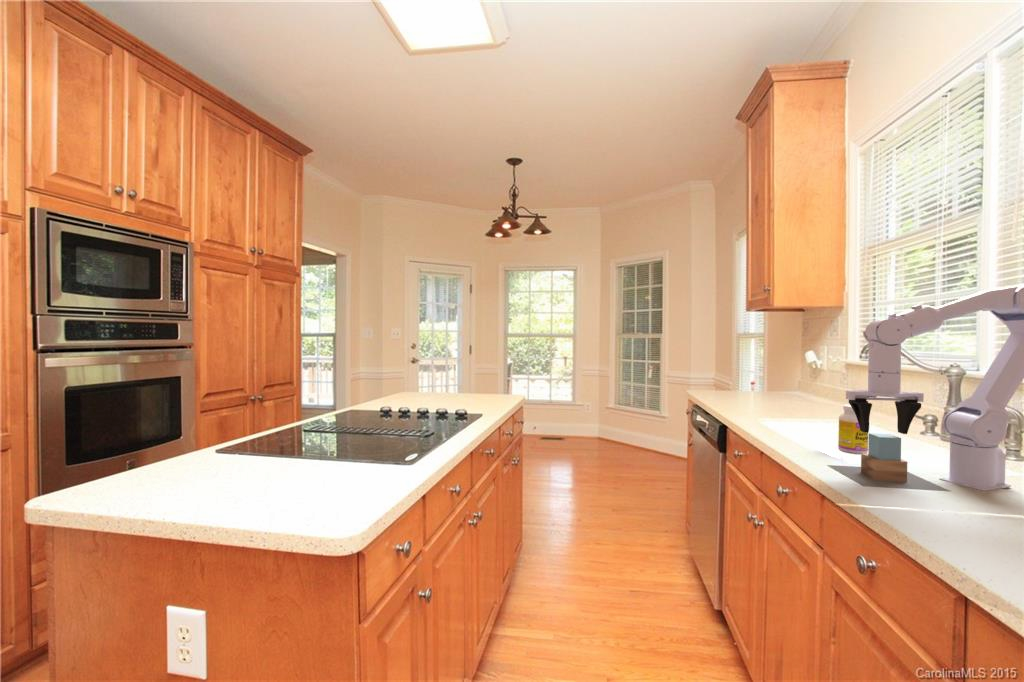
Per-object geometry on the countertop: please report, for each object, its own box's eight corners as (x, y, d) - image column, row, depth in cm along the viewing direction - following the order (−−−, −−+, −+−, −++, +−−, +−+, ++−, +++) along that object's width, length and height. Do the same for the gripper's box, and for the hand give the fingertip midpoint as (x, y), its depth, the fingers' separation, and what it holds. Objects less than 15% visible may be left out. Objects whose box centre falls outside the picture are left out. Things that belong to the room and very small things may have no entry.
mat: (826, 466, 114) (826, 465, 114) (901, 470, 111) (901, 468, 111) (863, 487, 98) (863, 485, 98) (950, 492, 95) (950, 491, 95)
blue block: (868, 454, 107) (868, 433, 106) (889, 455, 106) (889, 434, 106) (879, 459, 102) (879, 437, 102) (900, 460, 102) (901, 438, 102)
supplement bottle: (855, 456, 124) (856, 408, 124) (832, 450, 131) (833, 404, 130) (874, 454, 126) (875, 407, 126) (850, 448, 132) (851, 403, 132)
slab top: (861, 462, 108) (861, 453, 108) (890, 464, 107) (890, 454, 107) (876, 470, 102) (876, 460, 102) (907, 471, 101) (907, 461, 101)
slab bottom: (860, 472, 108) (861, 462, 108) (890, 473, 107) (890, 464, 107) (876, 480, 102) (876, 470, 102) (907, 481, 101) (907, 471, 101)
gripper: (857, 373, 102) (857, 434, 102) (933, 374, 99) (932, 437, 99) (841, 370, 109) (840, 428, 109) (911, 371, 106) (910, 431, 106)
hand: (883, 432), depth 105 cm, fingers open, 7 cm apart
